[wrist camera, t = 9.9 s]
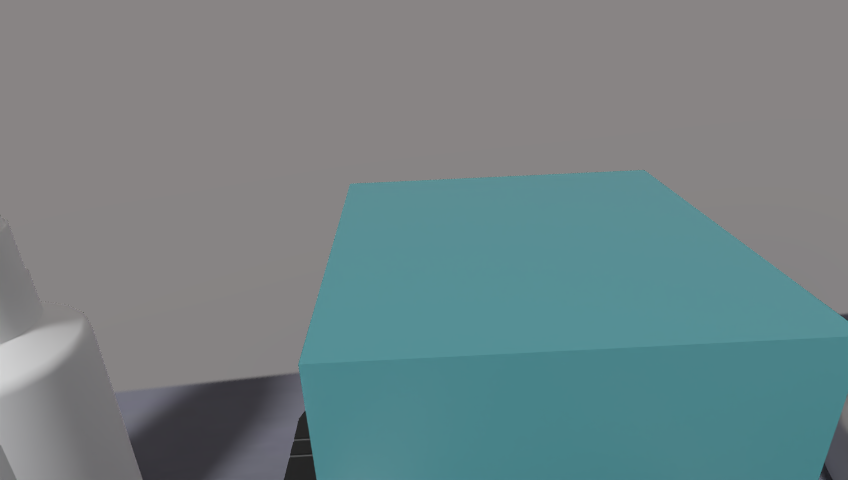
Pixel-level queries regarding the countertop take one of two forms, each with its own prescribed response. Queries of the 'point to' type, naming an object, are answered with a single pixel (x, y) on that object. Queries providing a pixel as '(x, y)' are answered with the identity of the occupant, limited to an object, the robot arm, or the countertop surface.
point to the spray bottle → (53, 388)
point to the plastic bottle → (839, 448)
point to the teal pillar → (562, 339)
